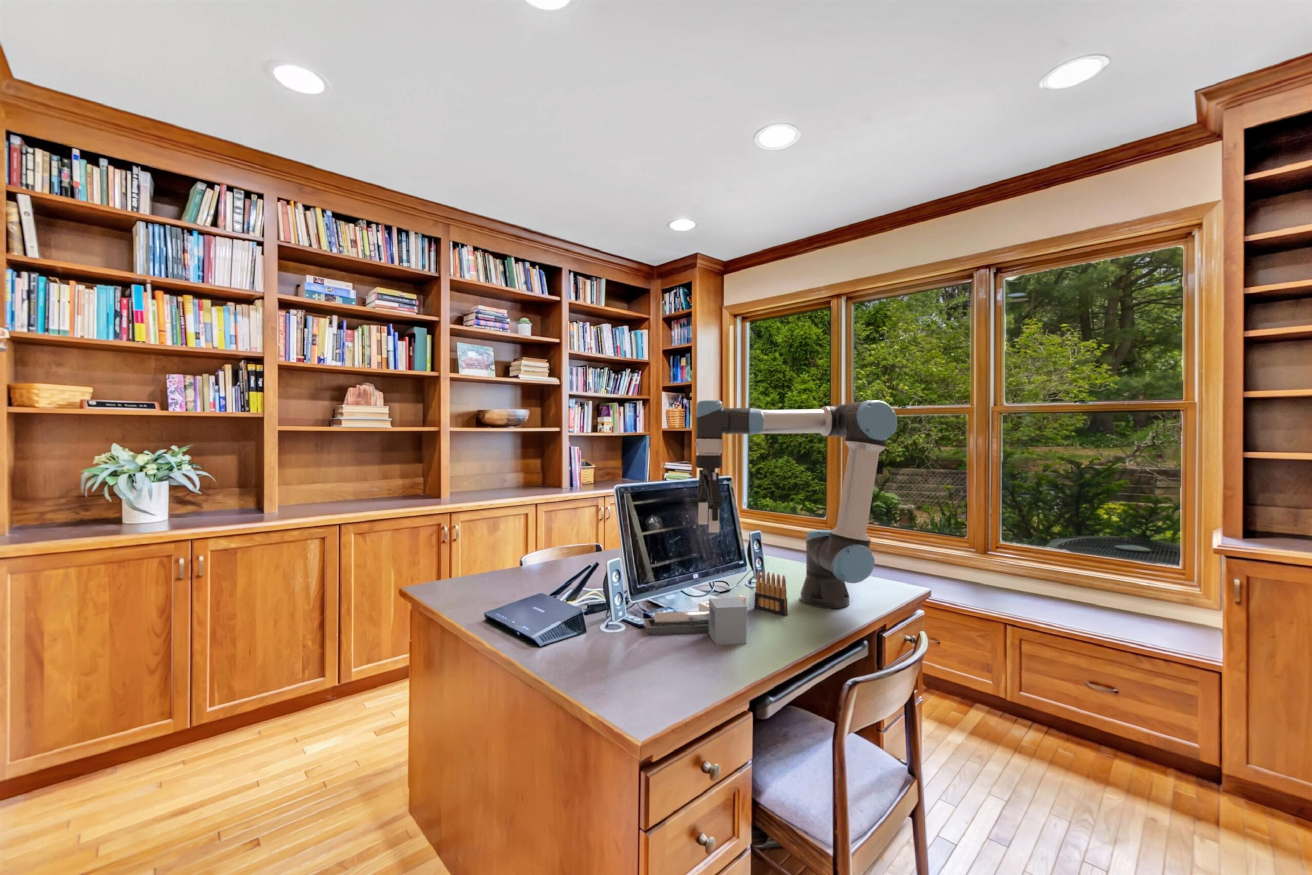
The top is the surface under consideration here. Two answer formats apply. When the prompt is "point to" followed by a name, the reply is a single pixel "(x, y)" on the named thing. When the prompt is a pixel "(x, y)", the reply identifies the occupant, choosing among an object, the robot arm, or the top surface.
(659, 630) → the dark brown shallow tray
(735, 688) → the top surface
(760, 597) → the ammunition clip
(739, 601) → the gray rectangular block
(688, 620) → the axle
